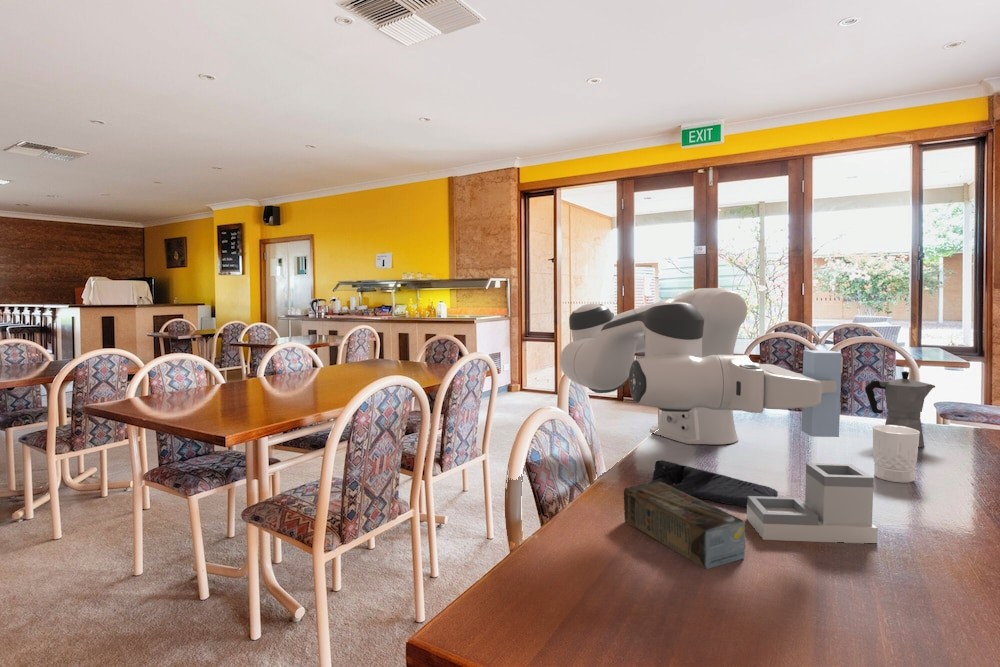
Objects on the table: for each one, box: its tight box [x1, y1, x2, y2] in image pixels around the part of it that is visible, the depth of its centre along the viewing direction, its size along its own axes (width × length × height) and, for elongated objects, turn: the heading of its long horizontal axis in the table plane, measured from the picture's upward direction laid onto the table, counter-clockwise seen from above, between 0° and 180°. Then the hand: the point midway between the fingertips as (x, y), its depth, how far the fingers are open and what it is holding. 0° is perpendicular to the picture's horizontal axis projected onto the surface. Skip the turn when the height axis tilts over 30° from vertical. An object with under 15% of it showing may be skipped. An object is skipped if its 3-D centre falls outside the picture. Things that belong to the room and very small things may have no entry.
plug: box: [800, 349, 844, 438], centre depth 91 cm, size 5×4×13 cm
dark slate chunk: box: [647, 459, 779, 507], centre depth 113 cm, size 15×22×5 cm
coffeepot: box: [864, 371, 936, 448], centre depth 144 cm, size 15×9×18 cm, turn 79°
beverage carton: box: [623, 481, 746, 570], centre depth 91 cm, size 8×19×7 cm, turn 24°
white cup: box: [872, 424, 920, 484], centre depth 118 cm, size 8×8×10 cm
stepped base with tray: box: [746, 462, 879, 544], centre depth 93 cm, size 16×8×10 cm, turn 83°
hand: (826, 383), depth 91 cm, fingers closed on plug, 4 cm apart
